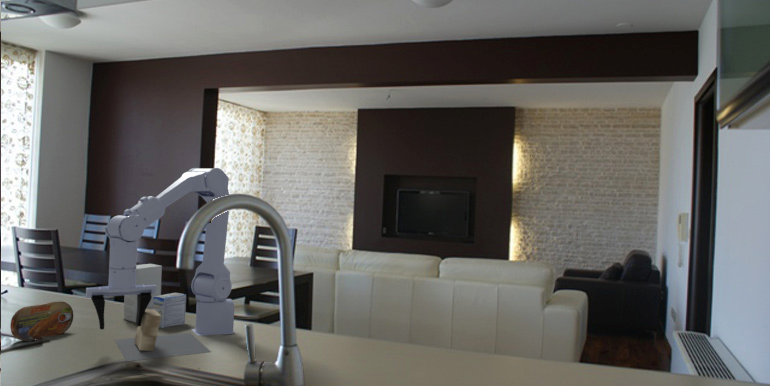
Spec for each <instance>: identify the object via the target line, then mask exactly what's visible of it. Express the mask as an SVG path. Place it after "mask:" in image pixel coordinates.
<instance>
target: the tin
mask: <svg viewBox="0 0 770 386" xmlns="http://www.w3.org/2000/svg"><path fill="white" fill-rule="evenodd" d="M73 320H74V310H73V308H72V306H71V305H70V304H69V303H68V302H66V301H51V302H45V303H40V304H39V303H38V304H34V305H28V306H24V307H21V308H20V309H18V310H17V311H16V312H15V313H14V314H13V316H12V317H11V320H10V333H11V335H12V336H13V337H14V338H16V339H17V340H20V341H25V342H31V341H30V340H34V341H36V340H35V339H39V340H42V339H43V337H52V336H54V337H55V336H59V335H62V334H64V333H65V332H67V331H68V330H69V328H71V326H72V323H73Z"/></svg>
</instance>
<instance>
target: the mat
mask: <svg viewBox="0 0 770 386" xmlns="http://www.w3.org/2000/svg"><path fill="white" fill-rule="evenodd" d="M114 341H115V342H116V343H115V344H116V345H117V347H118V349H119V350H120V353H121V355H122V356H123V358H124V359H125V361H126V362H134V361H144V360H152V359H153V360H154V359H162V358H171V357H181V356H189V355H197V354H205V353H211V352H212V351H211V350H210V349H209V348H207V346H206V345H204V344H203V343H202V342H201V341H200V340H199V339H198V338H197V337H195V336H194V334H193V333H191V332H184V333H183V332H182V333H174V334H173V333H172V334H170V333H169V334H161V335H157V338H156V342H155V347H154V351H146V350H139V348H138V347H137V345H136V344H135V342H134V341H135V337H128V338H127V337H126V338H120V339H119V338H117V339H114Z"/></svg>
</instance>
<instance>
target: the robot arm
mask: <svg viewBox="0 0 770 386" xmlns="http://www.w3.org/2000/svg"><path fill="white" fill-rule="evenodd" d="M229 180H230V177H228V175H227V174H226V173H225V172H224V170H222V169H221V168H220V167H213V168H205V167H203V168H202V167H201V168H199V167H193V168H190V169H188V171H185V172H184V173H182V175H181V176H180V177H179V178H178V179H177V180H175V181H174V182H173V183H172V184H171V185H169V186H168V187H166V189H164V190H162V191H161V192H160V193H159V194H158V195H156V196H152V195H150V196H142V197H141V198H140V199H139V201H140V202H138V203H136V204H135V205H134V206H132V207H131V208H126V209H125V210H123V214H121V215H120V214H119V215H116V216H113V217H112V218H111V219H110V220H109V221H108V223H107V226H106V227H105V226H104V230H105V231H104V232H105V234H106V236H107V237H108V239H109V260H108V261H109V262H108V265H109V266H108V284H107V285H105V286H104V285H103V286H95V287H93V286H92V287H86V288H85V297H86V298H87V299H88V298H90V299H91V301H92V304H93V306H94V308H95V311H96V314H97V317H98V325H99V329H100V330H105V308H106V307H105V306H106V300H105V297H113V296H114V297H115V296H116V297H117V296H124V295H136V294H138V295H137V317H136V322H135V325H136V326H137V327H138V326H141V322H142V318H143V315H144V312H145V310H146V308H147V306H148V304H149V302H150V301H151V298H152V296H151V294H156V285H136V265H138V264H137V259H138V239H141V237H142V236H143V234H144V232H145V229H147V228H149V227H150V226H151V225H153V223H155V222H156V221H158V220H159V219H161V218H162V217H163V216H164V215H165V212H166V208H167V207H168V206H171V204H173V203H175V202H176V201H178V200H179V199H181V198H182V197H184V196H186V195H187V194H189V193H191V192H194V193H195V194H196V195H198V196H200V197H201V198H202V199H203V200H204V201H205V202H206V204H208V202H210V201H211V200H213V199H215V198H218V197H221V196H225V195H230V192H229ZM229 215H230V210H229V211H227V212H225V213H223V214H221V215H219V216H217V217H215V218H214V219H213V220H212V222H211V223H209V224H208V225H207V227H206V226H205V237H204V245H203V253H202V262H201V264H200V265H198V266H197V268H196V269H195V274H194V277H193V279H192V280H191V284H190V287H191V291H192V293H193V294H194V295H195V300H196V305H195V306H196V307H195V308H196V311H195V328H191V329H190V330H191V331H192V332H193V333H194V334H195V335H196V336H198V337H201V336H202V337H203V336H211V335H213V336H214V335H222V336H224V335H225V336H226V335H233V334H234V333H235V332H234V327H235V326H234V324H235V323H234V322H235V321H234V320H235V319H234V318H235V305H234V304H235V303H234V301H233V299H232V298H228V297H229V296H230V294H231V292H232V288H233V287H232V281H231V271H230V269H228V268H227V266H226V265H225V257H226V256H225V255H226V245H227V235H228V225H229V224H228V223H229ZM125 292H126V293H125Z"/></svg>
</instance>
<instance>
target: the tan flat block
mask: <svg viewBox="0 0 770 386" xmlns="http://www.w3.org/2000/svg"><path fill="white" fill-rule="evenodd" d="M160 320H161V315H160V314H159V313H158V312H157V311H156V310H153V309H146V310H145V312H144V315H143V318H142V322H141V326H137V328H136V332H135V337H134V338H135V341H134V342H135V344H136V345H137V347H138V348H139V350H146V351H154V347H155V342H156V338H157V336H158V333H159V329H160V327H159V324H160Z"/></svg>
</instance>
